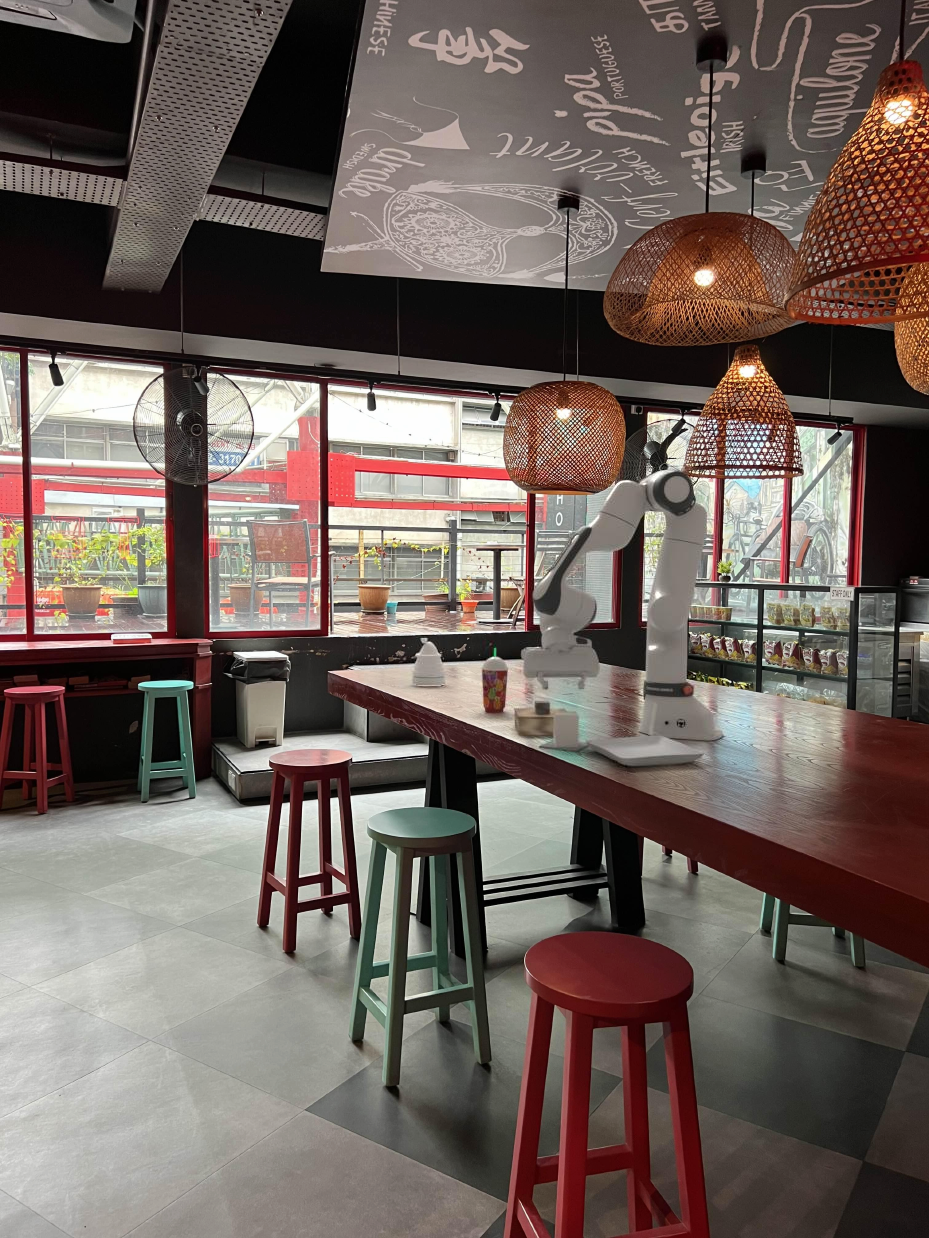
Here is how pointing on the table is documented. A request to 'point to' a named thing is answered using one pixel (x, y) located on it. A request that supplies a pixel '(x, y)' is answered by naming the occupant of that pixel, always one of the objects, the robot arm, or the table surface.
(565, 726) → the cap
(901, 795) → the table surface
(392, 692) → the table surface
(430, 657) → the honey pot
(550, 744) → the mat
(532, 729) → the box
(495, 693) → the smoothie
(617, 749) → the salad plate
